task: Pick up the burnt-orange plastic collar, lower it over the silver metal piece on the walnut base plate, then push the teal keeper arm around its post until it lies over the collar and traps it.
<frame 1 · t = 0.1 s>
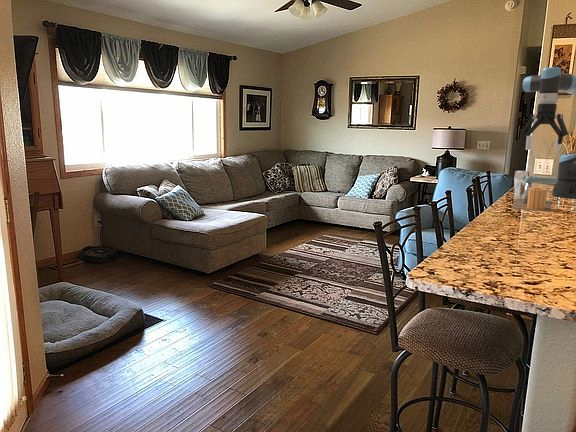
hand: (541, 150, 210), 28 cm above the breakfast bar, fingers open, 13 cm apart
silver metal piece: (527, 192, 227), on the plate, point 6 cm above the breakfast bar
plate: (531, 207, 220), on the breakfast bar
keeper: (541, 179, 227), point 12 cm above the breakfast bar, hinge at 0.0°
collar: (535, 207, 212), point 1 cm above the breakfast bar, touching plate
beer glass: (519, 200, 241), on the breakfast bar
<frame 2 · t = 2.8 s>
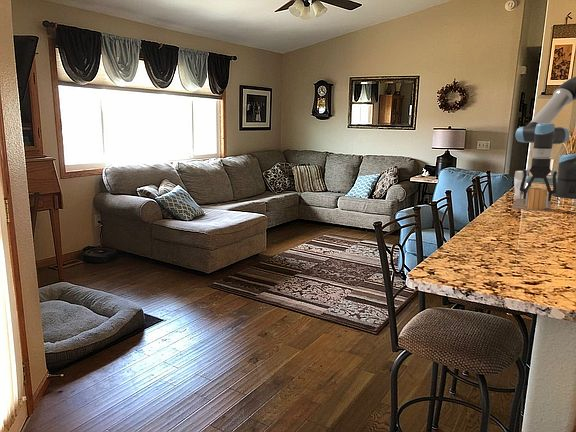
hand: (536, 206, 212), 2 cm above the breakfast bar, fingers closed on collar, 8 cm apart
collar: (535, 207, 212), point 2 cm above the breakfast bar, touching gripper, plate
everything else where it was.
when the fingers open (4 cm above the breakfast bar, at t = 8.2 s): collar drops 2 cm, resting on plate.
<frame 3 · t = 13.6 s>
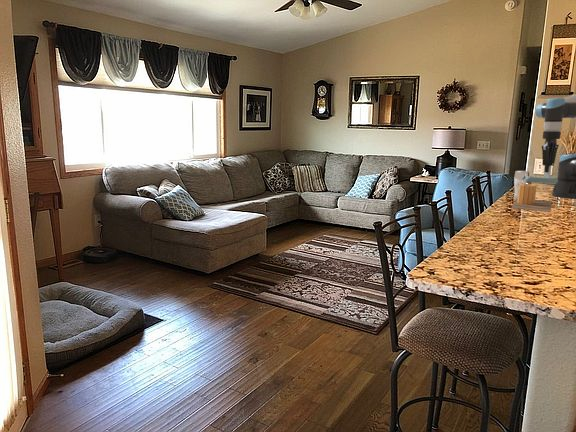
hand: (546, 178, 227), 13 cm above the breakfast bar, fingers closed
keeper: (540, 179, 226), point 12 cm above the breakfast bar, hinge at 3.6°, touching gripper
collar: (525, 203, 224), point 1 cm above the breakfast bar, touching plate
everything else where it was.
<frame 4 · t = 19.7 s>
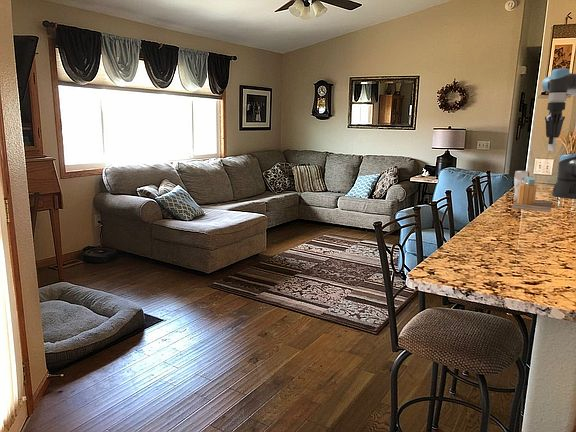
hand: (551, 150, 226), 26 cm above the breakfast bar, fingers closed
keeper: (530, 180, 224), point 12 cm above the breakfast bar, hinge at 81.2°
everything else where it was.
at the end: collar 0.0 cm from the target spot on the plate, point 1.5 cm above the plate's base; keeper at +81° (first picture: +0°); collar tilted 0° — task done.
